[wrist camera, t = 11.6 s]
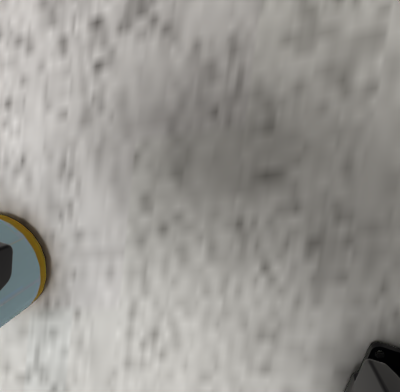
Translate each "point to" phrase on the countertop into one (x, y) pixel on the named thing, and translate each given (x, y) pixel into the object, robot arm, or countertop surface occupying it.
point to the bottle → (21, 269)
